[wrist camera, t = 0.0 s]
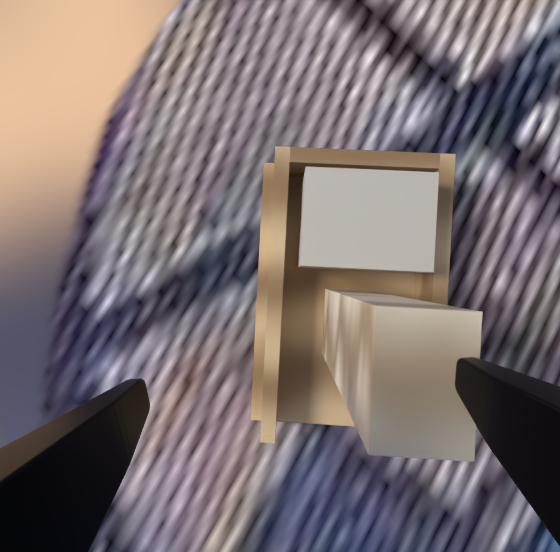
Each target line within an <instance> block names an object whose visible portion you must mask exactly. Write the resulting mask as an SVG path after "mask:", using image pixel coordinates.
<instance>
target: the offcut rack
mask: <svg viewBox="0 0 560 552" xmlns="http://www.w3.org/2000/svg"><path fill="white" fill-rule="evenodd" d="M455 155H456V154H439V153H416V152H393V151H370V150H347V149H324V148H301V147H277V146H275V163H264V172H263V191H262V210H261V230H260V249H259V268H258V287H257V307H256V326H255V345H254V364H253V384H252V403H251V420H261V433H260V442H262V443H275V433H276V421H278V422H294V423H310V424H326V425H342V426H355V424H354V422H353V420H352V418H351V416H350V413H349V411H348V409H347V407H346V405H345V402H344V400H343V398H342V396H341V394H340V392H339V389H338V387H337V385H336V383H335V381H334V378H333V376H332V374H331V372H330V370H329V368H328V365H327V363H326V361H325V359H324V357H323V354H322V342H323V323H324V304H325V289H342V290H361V291H373V292H379V293H384V294H389V295H395V296H400V297H405V298H411V299H416V300H422V301H427V302H432V303H438V304H443V305H447V302H448V283H449V265H450V247H451V228H452V210H453V191H454V173H455ZM305 167H328V168H351V169H373V170H395V171H418V172H439V184H438V203H437V221H436V239H435V258H434V272H429V273H391V272H372V271H352V270H333V269H314V268H297V265H298V245H299V226H300V207H301V190H302V184H303V178H304V173H305Z"/></svg>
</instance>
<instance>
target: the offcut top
mask: <svg viewBox="0 0 560 552" xmlns="http://www.w3.org/2000/svg"><path fill="white" fill-rule="evenodd" d="M438 184H439V172H418V171H395V170H373V169H351V168H328V167H305V173H304V178H303V194H302V213H301V232H300V251H299V267H314V268H333V269H352V270H372V271H391V272H410V273H429V272H434V258H435V239H436V221H437V203H438Z"/></svg>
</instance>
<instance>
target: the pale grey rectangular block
mask: <svg viewBox="0 0 560 552" xmlns="http://www.w3.org/2000/svg"><path fill="white" fill-rule="evenodd" d="M481 329H482V312H480V311H475V310H470V309H464V308H459V307H454V306H448V305H443V304H438V303H432V302H427V301H422V300H416V299H411V298H405V297H400V296H395V295H389V294H384V293H379V292H373V291H361V290H342V289H325V304H324V323H323V342H322V354H323V357H324V359H325V361H326V363H327V365H328V368H329V370H330V372H331V374H332V376H333V378H334V381H335V383H336V385H337V387H338V389H339V392H340V394H341V396H342V398H343V400H344V402H345V405H346V407H347V409H348V411H349V413H350V416H351V418H352V420H353V422H354V424H355V426H356V429H357V431H358V433H359V435H360V437H361V440H362V442H363V444H364V446H365V448H366V450H367V453H368V455H376V456H391V457H407V458H422V459H438V460H454V461H469V462H474V457H475V439H476V424H475V423H474V421H473V419H472V418H471V416H470V414H469V412H468V411H467V409H466V407H465V405H464V404H463V402H462V400H461V399H460V397H459V395H458V393H457V391H456V388H455V375H456V363H457V360H458V359H459V358H464V357H476V358H479V359H480V347H481Z"/></svg>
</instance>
